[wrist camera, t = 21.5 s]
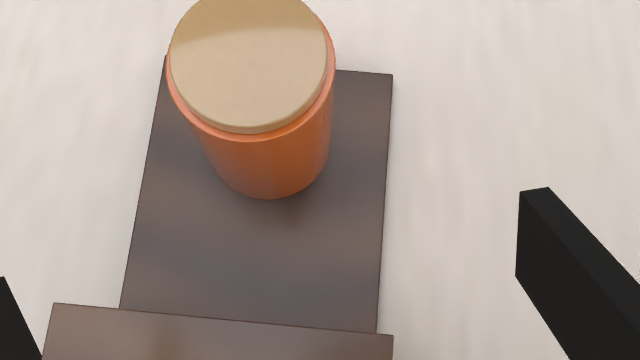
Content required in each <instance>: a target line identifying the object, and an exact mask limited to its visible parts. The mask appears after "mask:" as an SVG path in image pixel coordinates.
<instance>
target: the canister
mask: <svg viewBox="0 0 640 360" xmlns="http://www.w3.org/2000/svg"><path fill="white" fill-rule="evenodd" d="M166 79H167V84H168V88H169V91H170V94H171V96H172V98H173V100H174V102H175V104H176V106H177V108H178V109H179V111H180V113H181V115H182V116H183V118H184V120H185V122H186V123H187V125H188V127H189V128H190V130H191V132H192V134H193V135H194V137H195V139H196V140H197V142H198V144H199V146H200V147H201V149H202V151H203V153H204V154H205V156H206V158H207V159H208V161H209V163H210V165H211V166H212V168H213V170H214V171H215V173H216V174H217V176H218V177H219V178H220V179H221V180H222V181H223V183H225V184H226V185H227V186H228V187H229V188H231V189H232V190H234V191H236V192H237V193H240V194H242V195H244V196H247V197H251V198H255V199H261V200H272V199H280V198H284V197H288V196H290V195H293V194H295V193H297V192H299V191H301V190H303V189H304V188H306V187H307V186H308V185H310V184H311V183H312V182H313V181H314V180H315V179H316V178H317V177H318V175H319V174H320V173H321V171H322V170H323V168H324V166H325V164H326V162H327V160H328V157H329V153H330V148H331V138H332V120H333V101H334V83H335V52H334V47H333V44H332V40H331V38H330V36H329V33H328V31H327V29H326V28H325V26H324V25H323V23H322V22H321V20H320V19H319V18H318V17H317V16H316V14H314V13H313V12H312V11H311V9H310V8H309V7H308V6H307V5H305V4H304V3H303V2H302V1H301V0H200V1H198V2H197V3H196V4H194V5H193V6H192V7H191V8H190V9H189V10H188V11H187V12H186V14H185V15H184V16H183V17H182V19H181V20H180V22H179V24H178V25H177V27H176V29H175V31H174V34H173V36H172V39H171V43H170V45H169V49H168V52H167V57H166Z"/></svg>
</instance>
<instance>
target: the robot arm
mask: <svg viewBox="0 0 640 360" xmlns="http://www.w3.org/2000/svg"><path fill="white" fill-rule="evenodd" d="M515 277H516V278H517V280H518V281H519V283H520V284H521V286H522V287H523V289H524V290H525V292H526V293H527V295H528V296H529V298H530V299H531V301H532V303H533V304H534V306H535V307H536V309H537V310H538V312H539V313H540V315H541V316H542V318H543V319H544V321H545V322H546V324H547V325H548V327H549V328H550V330H551V332H552V333H553V335H554V336H555V338H556V339H557V341H558V342H559V344H560V345H561V347H562V348H563V350H564V351H565V353H566V354H567V356H568V358H569V359H570V360H640V285H639V284H638V282H637V281H636V280H635V279H634V278H633V277H632V276H631V275H630V274H629V273H628V272H627V271H626V270H625V268H624V267H623V266H622V265H621V264H620V263H619V262H618V261H617V260H616V259H615V258H614V257H613V256H612V255H611V253H610V252H609V251H608V250H607V249H606V248H605V247H604V246H603V245H602V244H601V243H600V242H599V241H598V239H597V238H596V237H595V236H594V235H593V234H592V233H591V232H590V231H589V230H588V229H587V228H586V227H585V226H584V224H583V223H582V222H581V221H580V220H579V219H578V218H577V217H576V216H575V215H574V214H573V213H572V212H571V210H570V209H569V208H568V207H567V206H566V205H565V204H564V203H563V202H562V201H561V200H560V199H559V198H558V197H557V195H556V194H555V193H554V192H553V191H552V190H551V189H550V188H549V187H545V188H539V189H532V190H526V191H520V195H519V214H518V233H517V252H516V270H515ZM41 359H42V355H41V353H40V351H39V349H38V347H37V345H36V343H35V341H34V339H33V336H32V334H31V332H30V330H29V328H28V326H27V324H26V322H25V320H24V317H23V315H22V313H21V311H20V309H19V307H18V305H17V303H16V301H15V298H14V296H13V294H12V292H11V290H10V288H9V286H8V284H7V282H6V279H5V277H4V276H3V277H0V360H41Z"/></svg>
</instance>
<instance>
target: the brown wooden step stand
mask: <svg viewBox="0 0 640 360" xmlns="http://www.w3.org/2000/svg"><path fill="white" fill-rule="evenodd" d="M166 57H167V55H165V59H164V64H163V69H162V75H161V80H160V86H159V91H158V97H157V102H156V108H155V113H154V119H153V124H152V129H151V135H150V140H149V146H148V151H147V157H146V162H145V168H144V173H143V179H142V184H141V189H140V195H139V200H138V206H137V211H136V217H135V222H134V228H133V233H132V239H131V244H130V249H129V255H128V260H127V266H126V271H125V277H124V282H123V288H122V293H121V299H120V304H119V309H117V308H107V307H97V306H86V305H76V304H65V303H53V307H52V311H51V316H50V321H49V325H48V330H47V335H46V339H45V344H44V349H43V353H42V359H41V360H392V358H393V341H394V336H393V335H387V334H377V333H376V329H377V313H378V298H379V283H380V268H381V252H382V237H383V222H384V206H385V191H386V176H387V160H388V145H389V130H390V115H391V99H392V84H393V75H392V74H381V73H370V72H358V71H346V70H335V83H334V101H333V120H332V138H331V148H330V153H329V157H328V160H327V162H326V164H325V166H324V168H323V170H322V171H321V173H320V174H319V175H318V177H317V178H316V179H315V180H314V181H313V182H312V183H311V184H310V185H308V186H307V187H306V188H304V189H303V190H301V191H299V192H297V193H295V194H293V195H290V196H288V197H284V198H280V199H272V200H261V199H255V198H251V197H247V196H244V195H242V194H240V193H237V192H236V191H234V190H232V189H231V188H229V187H228V186H227V185H226V184H225V183H223V181H222V180H221V179H220V178H219V177H218V176H217V174H216V173H215V171H214V170H213V168H212V166H211V165H210V163H209V161H208V159H207V158H206V156H205V154H204V153H203V151H202V149H201V147H200V146H199V144H198V142H197V140H196V139H195V137H194V135H193V134H192V132H191V130H190V128H189V127H188V125H187V123H186V122H185V120H184V118H183V116H182V115H181V113H180V111H179V109H178V108H177V106H176V104H175V102H174V100H173V98H172V96H171V94H170V91H169V88H168V84H167V79H166Z"/></svg>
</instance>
